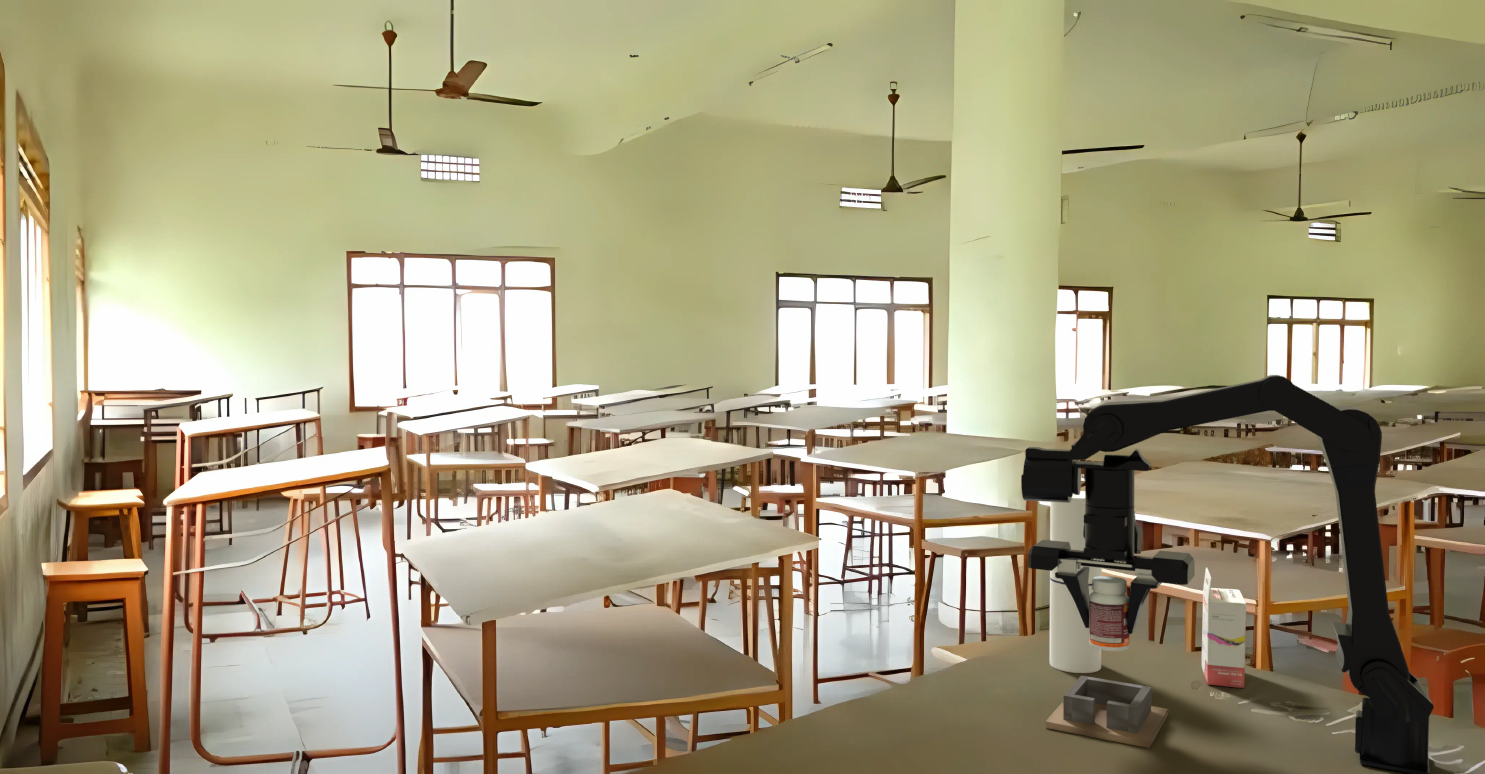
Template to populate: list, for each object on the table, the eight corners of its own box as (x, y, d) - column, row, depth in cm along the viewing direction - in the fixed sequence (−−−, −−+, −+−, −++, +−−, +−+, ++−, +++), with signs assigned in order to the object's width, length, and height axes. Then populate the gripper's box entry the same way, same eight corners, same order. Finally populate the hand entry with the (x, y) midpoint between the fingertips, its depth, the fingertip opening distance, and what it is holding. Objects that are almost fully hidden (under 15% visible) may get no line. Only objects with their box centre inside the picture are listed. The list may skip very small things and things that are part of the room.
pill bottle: (1132, 653, 123) (1133, 584, 123) (1091, 651, 124) (1091, 583, 124) (1126, 641, 128) (1126, 575, 128) (1086, 639, 129) (1086, 574, 129)
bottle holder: (1167, 714, 128) (1168, 685, 128) (1149, 747, 118) (1149, 715, 118) (1071, 697, 135) (1071, 669, 135) (1045, 727, 125) (1045, 696, 125)
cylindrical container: (1039, 661, 150) (1039, 492, 149) (1076, 654, 153) (1077, 489, 152) (1073, 675, 144) (1074, 499, 142) (1112, 668, 147) (1113, 495, 145)
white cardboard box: (1246, 689, 138) (1248, 581, 137) (1206, 685, 139) (1207, 578, 138) (1238, 669, 146) (1240, 567, 145) (1200, 666, 147) (1202, 565, 147)
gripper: (1201, 501, 127) (1201, 624, 128) (1051, 490, 137) (1051, 605, 138) (1187, 514, 118) (1186, 647, 118) (1026, 502, 128) (1026, 625, 128)
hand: (1109, 629), depth 126 cm, fingers closed on pill bottle, 5 cm apart
